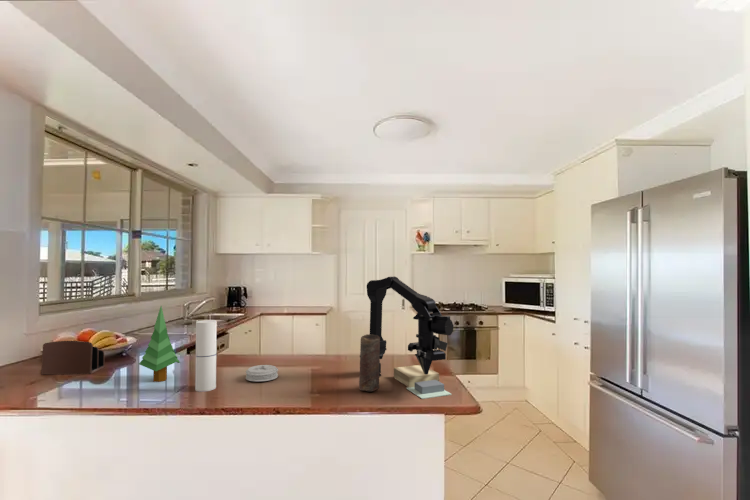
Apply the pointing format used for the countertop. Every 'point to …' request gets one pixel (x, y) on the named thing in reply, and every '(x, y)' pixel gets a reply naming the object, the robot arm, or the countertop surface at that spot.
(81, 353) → the letter holder
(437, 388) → the tile
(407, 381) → the board
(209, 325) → the cylindrical container
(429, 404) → the countertop surface
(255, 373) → the lid
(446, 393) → the mat
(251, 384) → the countertop surface
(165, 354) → the decorative tree
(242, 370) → the countertop surface
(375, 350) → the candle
